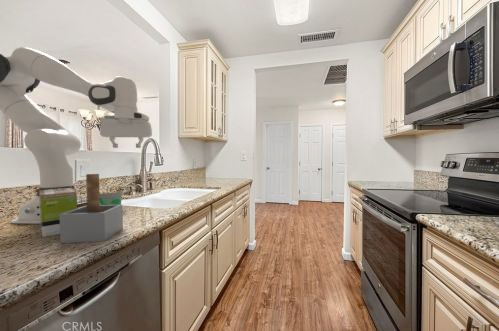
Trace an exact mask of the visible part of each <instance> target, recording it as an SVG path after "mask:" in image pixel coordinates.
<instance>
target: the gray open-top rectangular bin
mask: <svg viewBox="0 0 499 331" xmlns="http://www.w3.org/2000/svg"><path fill="white" fill-rule="evenodd" d="M59 216H60V234H59V238H60V244H67V243H71V244H72V243H87V242H89V243H90V242H105V241H107V240H108V239H110V238H111V237H112V236H115V234H118V232H120V231H121V230H123V229H124V221H123V220H124V219H123V217H124V216H123V204H121V205H100V212H95V213H87V205H83V206H80V207H77V209H74V210H71V211H68V212H65V213H62V214H59Z"/></svg>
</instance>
